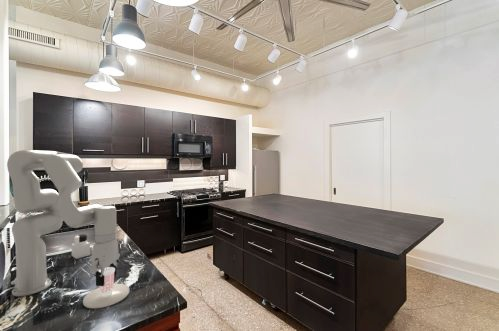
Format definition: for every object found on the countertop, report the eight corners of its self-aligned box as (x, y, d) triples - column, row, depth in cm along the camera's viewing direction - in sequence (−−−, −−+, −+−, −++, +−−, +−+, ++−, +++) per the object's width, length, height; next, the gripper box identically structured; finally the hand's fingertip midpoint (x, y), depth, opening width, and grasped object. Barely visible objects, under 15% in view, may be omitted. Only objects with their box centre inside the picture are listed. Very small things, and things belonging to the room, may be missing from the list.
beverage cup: (110, 286, 99) (109, 254, 99) (118, 290, 96) (118, 257, 96) (94, 293, 94) (94, 259, 94) (103, 298, 91) (102, 262, 91)
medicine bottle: (85, 252, 142) (85, 232, 142) (90, 255, 138) (90, 234, 138) (71, 256, 137) (71, 235, 136) (76, 259, 132) (75, 238, 132)
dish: (72, 308, 88) (72, 305, 88) (103, 285, 104) (103, 282, 104) (112, 310, 86) (112, 307, 86) (137, 287, 102) (137, 284, 102)
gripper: (111, 230, 104) (112, 270, 104) (79, 244, 86) (80, 292, 87) (127, 230, 103) (128, 271, 103) (98, 245, 86) (99, 293, 86)
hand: (106, 280), depth 95 cm, fingers open, 6 cm apart
